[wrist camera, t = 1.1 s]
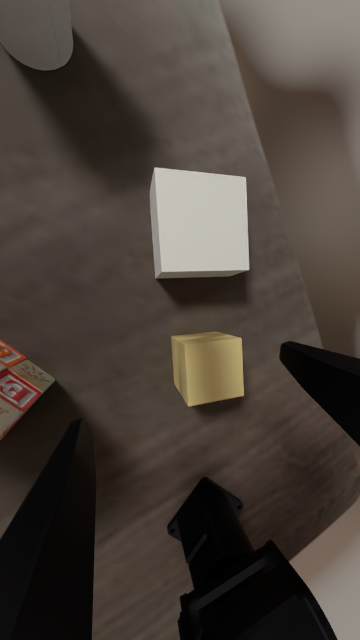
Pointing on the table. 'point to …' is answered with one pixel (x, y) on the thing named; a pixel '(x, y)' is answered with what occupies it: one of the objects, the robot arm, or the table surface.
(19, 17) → the dixie cup
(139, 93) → the table surface
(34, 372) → the stack of blocks
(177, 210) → the ivory block
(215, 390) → the mustard cube
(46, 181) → the table surface
